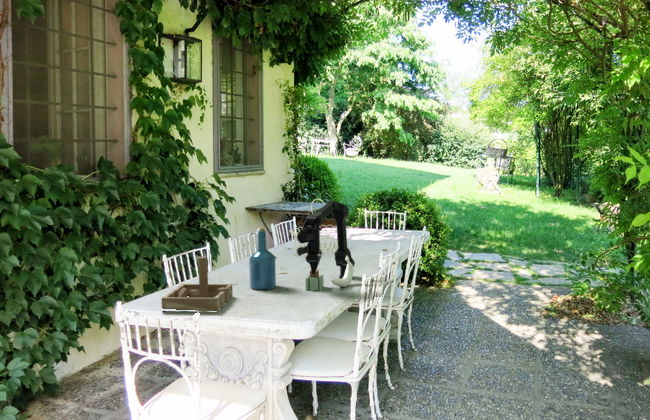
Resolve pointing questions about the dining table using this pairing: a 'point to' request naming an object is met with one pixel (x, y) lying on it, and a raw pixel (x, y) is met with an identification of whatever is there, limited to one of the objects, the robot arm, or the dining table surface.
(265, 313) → the dining table surface
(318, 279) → the walnut peg
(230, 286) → the crate frame
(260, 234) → the wine bottle
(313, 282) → the green open frame
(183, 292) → the wooden blocks
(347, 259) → the banana
